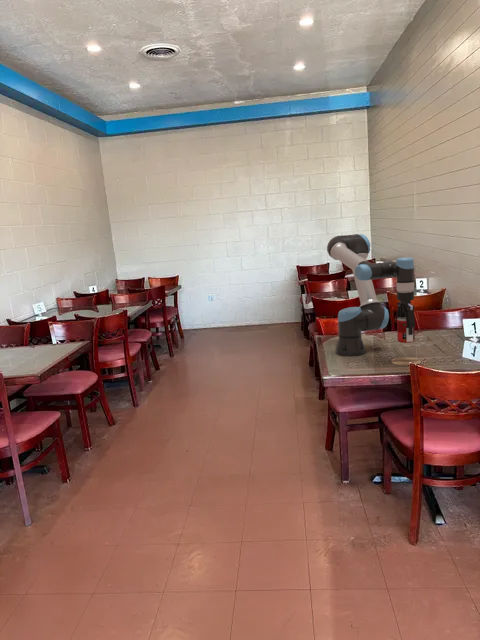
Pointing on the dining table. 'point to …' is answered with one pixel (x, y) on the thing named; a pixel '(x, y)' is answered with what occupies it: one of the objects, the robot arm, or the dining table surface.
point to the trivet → (405, 361)
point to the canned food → (403, 330)
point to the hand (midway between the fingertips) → (405, 339)
